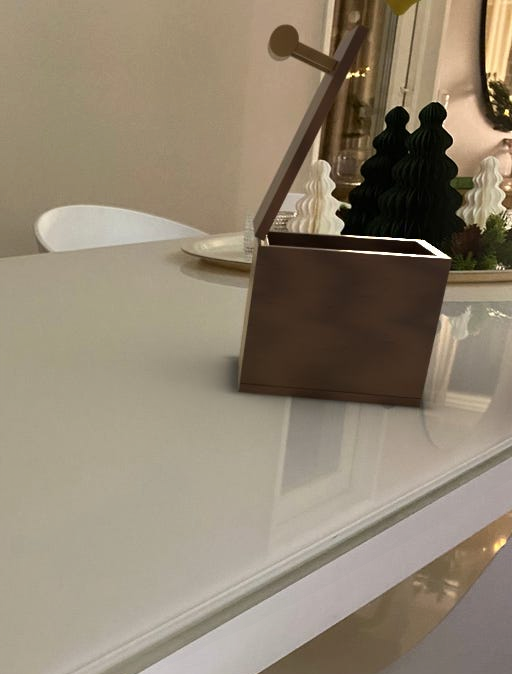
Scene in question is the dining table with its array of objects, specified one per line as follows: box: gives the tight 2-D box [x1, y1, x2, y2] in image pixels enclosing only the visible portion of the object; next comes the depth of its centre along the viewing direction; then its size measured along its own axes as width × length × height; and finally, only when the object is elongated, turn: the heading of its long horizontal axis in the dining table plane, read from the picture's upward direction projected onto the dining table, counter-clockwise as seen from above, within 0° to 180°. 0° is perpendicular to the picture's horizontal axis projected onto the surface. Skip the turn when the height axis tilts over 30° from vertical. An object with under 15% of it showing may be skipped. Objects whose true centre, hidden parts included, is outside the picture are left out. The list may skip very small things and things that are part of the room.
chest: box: [237, 229, 453, 409], centre depth 83 cm, size 14×13×11 cm
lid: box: [252, 23, 370, 241], centre depth 78 cm, size 14×13×6 cm
